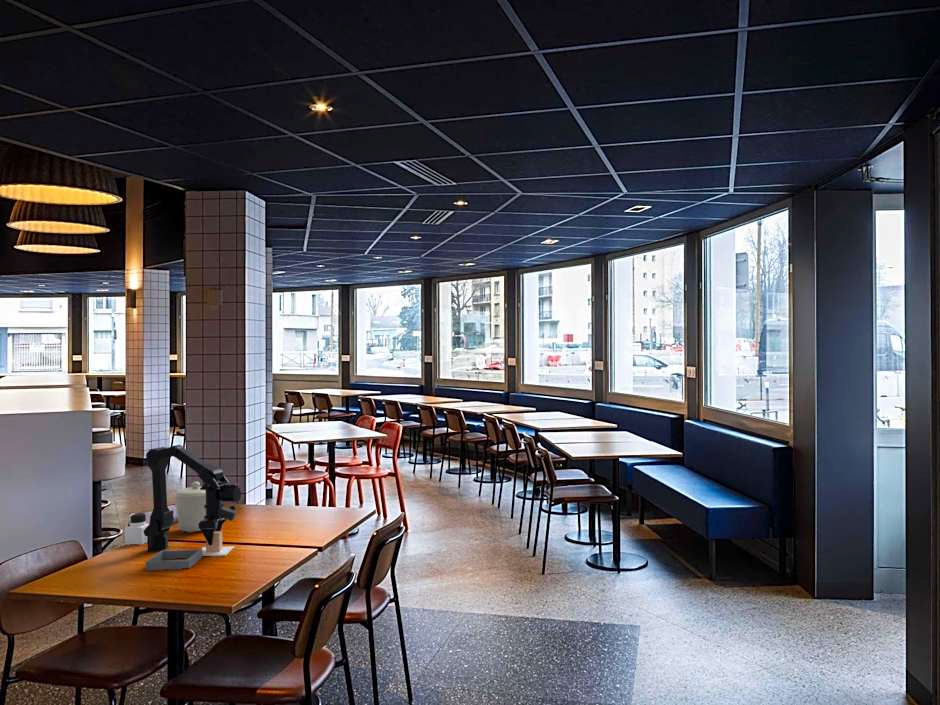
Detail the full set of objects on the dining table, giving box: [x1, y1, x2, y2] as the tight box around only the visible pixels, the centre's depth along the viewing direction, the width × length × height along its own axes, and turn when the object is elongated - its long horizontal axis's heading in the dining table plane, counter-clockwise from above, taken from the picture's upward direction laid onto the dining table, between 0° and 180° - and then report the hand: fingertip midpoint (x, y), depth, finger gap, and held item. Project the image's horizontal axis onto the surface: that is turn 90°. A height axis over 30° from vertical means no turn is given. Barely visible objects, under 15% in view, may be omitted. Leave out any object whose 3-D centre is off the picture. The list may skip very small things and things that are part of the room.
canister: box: [172, 481, 206, 533], centre depth 316 cm, size 18×18×21 cm
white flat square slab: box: [201, 545, 235, 557], centre depth 278 cm, size 12×12×1 cm
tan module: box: [205, 530, 223, 552], centre depth 278 cm, size 5×4×7 cm
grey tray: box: [145, 548, 203, 571], centre depth 263 cm, size 15×15×3 cm
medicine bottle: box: [124, 512, 150, 546], centre depth 295 cm, size 7×7×12 cm
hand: (214, 542), depth 278 cm, fingers open, 9 cm apart
